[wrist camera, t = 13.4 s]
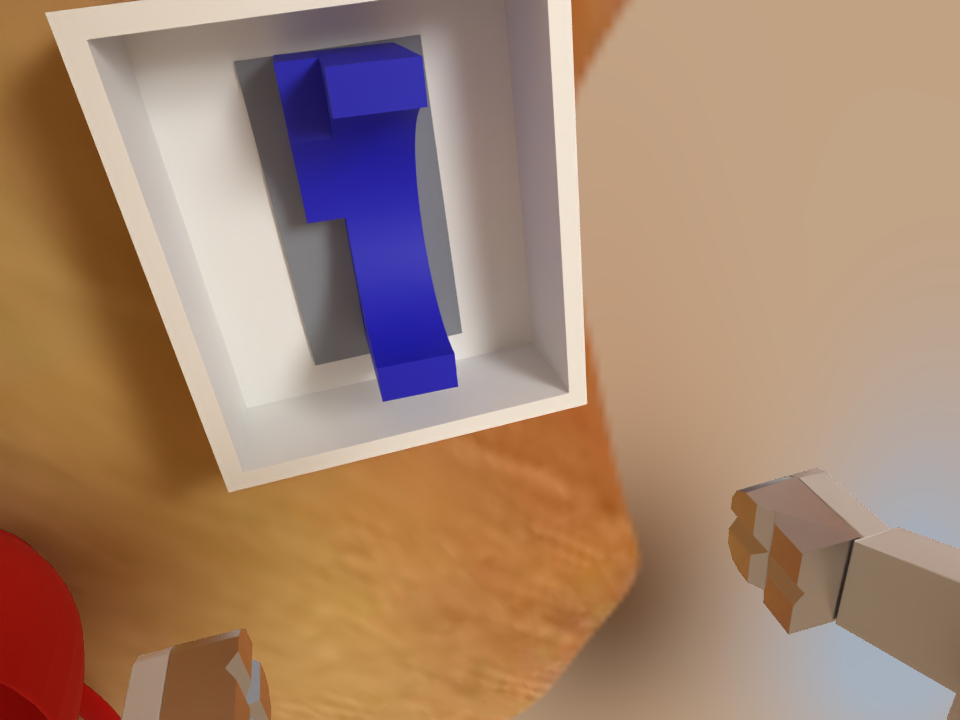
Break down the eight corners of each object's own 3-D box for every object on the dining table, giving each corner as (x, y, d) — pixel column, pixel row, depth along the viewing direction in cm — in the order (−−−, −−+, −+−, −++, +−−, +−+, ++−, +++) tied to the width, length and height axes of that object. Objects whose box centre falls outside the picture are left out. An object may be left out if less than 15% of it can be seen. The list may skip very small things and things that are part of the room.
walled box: (513, -48, 27) (568, -55, 22) (542, 344, 36) (586, 404, 31) (92, 7, 24) (44, 12, 19) (235, 414, 33) (228, 492, 28)
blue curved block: (273, 54, 26) (272, 72, 20) (393, 42, 26) (422, 56, 21) (332, 341, 31) (343, 409, 26) (429, 323, 32) (458, 386, 27)
